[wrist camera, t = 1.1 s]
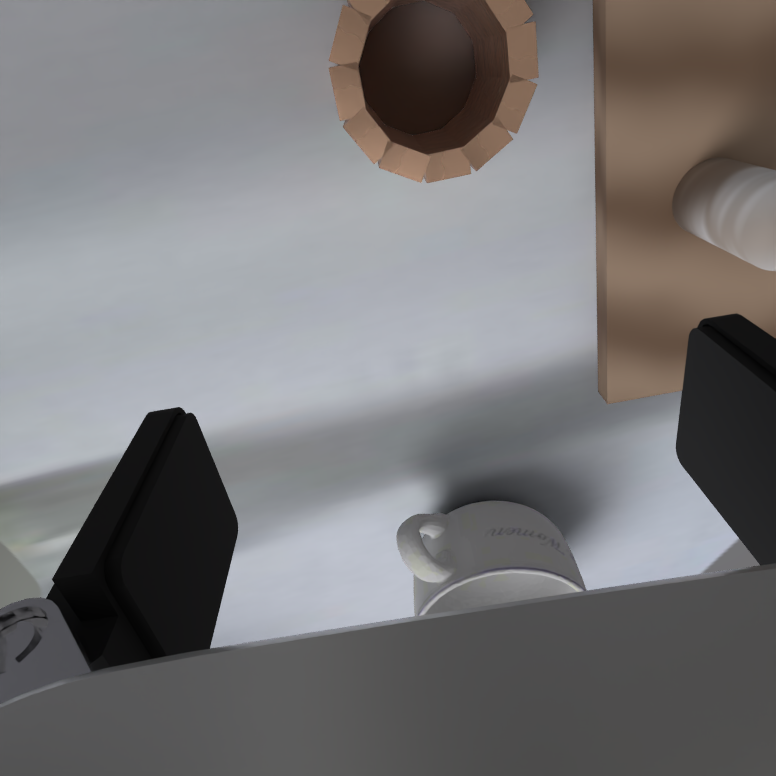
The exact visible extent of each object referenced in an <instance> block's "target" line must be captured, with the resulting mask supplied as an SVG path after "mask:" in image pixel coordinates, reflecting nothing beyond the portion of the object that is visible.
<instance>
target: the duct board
mask: <svg viewBox="0 0 776 776" xmlns="http://www.w3.org/2000/svg"><path fill="white" fill-rule="evenodd" d="M593 43H594V116H595V189H596V262H597V335H598V392H599V393H600V395H601V396H602V397H603V399H604V400H605V401H606V403H607V404H611V403H616V402H622V401H627V400H633V399H638V398H643V397H649V396H654V395H660V394H665V393H671V392H676V391H682V389H683V380H684V372H685V363H686V355H687V346H688V338H689V333H690V332H691V330H692V329H693V328H697V327H698V325H699V323H700V321H701V320H703V319H705V318H711V317H717V316H723V315H729V314H736V313H737V314H740V315H742V316H743V317H745V318H746V319H748V320H749V321H751V322H752V323H754V324H755V325H757V326H758V327H759V328H761V329H762V330H764V331H765V332H767V333H768V334H770V335H771V336H773V337H774V338H776V0H593Z"/></svg>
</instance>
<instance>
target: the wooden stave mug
mask: <svg viewBox="0 0 776 776" xmlns="http://www.w3.org/2000/svg"><path fill="white" fill-rule="evenodd" d="M419 1H426V2H429V3H431V4H433V5H436V6H438V7H440V8H443V9H445V10H447V11H450V12H452V13H454V15H455V16H456V18H457V19H458V21H459V22H460V24H461V25H462V27H463V28H464V29H465V31H466V32H467V34H468V35H469V37H470V38H471V40H472V43H473V52H474V62H475V72H476V77H475V80H474V83H473V85H472V88H471V91H470V93H469V96H468V99H467V102H466V104H465V107H464V108H463V109H462V110H461V111H460V112H459V113H458V114H457V115H456V116H455V117H454V118H453V119H451V120H450V121H449V122H448V123H447V124H446V125H445V126H444V127H443V128H442V129H439V130H434V131H430V132H425V133H420V134H416V135H411V134H408V133H405V132H403V131H400V130H397V129H395V128H392V127H389V126H387V125H385V124H384V123H383V122H382V120H381V119H380V118H379V117H378V115H377V114H376V113H375V112H374V110H373V109H372V108H371V107H370V105H369V104H368V103H367V102H366V100H365V95H364V90H363V85H362V80H361V75H360V69H359V65H360V61H361V57H362V54H363V50H364V47H365V43H366V39H367V36H368V32H369V31H370V30H371V29H372V28H373V27H374V26H375V25H376V24H377V23H378V22H379V21H380V20H381V19H382V18H383V17H384V16H385V15H386V14H387V13H388V12H389V11H390V10H391V8H393V7H398V6H402V5H406V4H411V3H415V2H419ZM347 2H348V6H349V7H347V6H345V5H343V7H342V11H341V14H340V18H339V22H338V26H337V30H336V34H335V38H334V42H333V46H332V50H331V54H330V58H329V61H331V62H333V63H336V64H339V65H340V66H335V67H331V68H329V72H330V77H331V81H332V86H333V91H334V95H335V100H336V104H337V109H338V114H339V118H340V121H342V120H345V122H344V125H343V128H344V129H345V130H346V131H347V132H348V134H349V135H350V136H351V137H352V138H353V140H354V141H355V142H356V143H357V144H358V146H359V147H360V148H361V149H362V150H363V152H364V153H365V154H366V155H367V156H368V158H369V159H370V160H371V161H372V162H373V164H375V163H376V162H377V161H378V164H379V168H381V169H384V170H387V171H389V172H392V173H395V174H398V175H401V176H403V177H406V178H409V179H412V180H415V181H417V182H420V183H421V182H422V179H423V177H424V179H425V181H426V182H427V183H430V182H435V181H440V180H445V179H449V178H454V177H459V176H464V175H468V174H471V169H470V166H471V167H472V168H473V169H475V170H476V171H477V170H478V169H480V168H481V167H482V166H483V165H484V164H485V163H486V162H488V161H489V160H490V159H491V158H492V157H493V156H494V155H496V154H497V153H498V152H499V151H500V150H501V149H502V148H504V147H505V146H506V145H507V144H508V143H509V142H510V141H512V140H513V138H512V137H511V135H510V134H509V133H508V131H507V130H509V131H511V132H514V133H516V134H517V132H518V130H519V128H520V125H521V123H522V120H523V118H524V115H525V113H526V111H527V108H528V106H529V103H530V101H531V99H532V96H533V94H534V91H535V89H536V86H537V84H535V83H533V82H530V81H528V80H529V79H533V78H538V77H539V76H538V58H537V40H536V22H530V23H526V24H524V23H525V22H526V21H527V20H528V19H529V18H530V17H531V16H532V15H533V13H532V11H531V10H530V8H529V6H528V5H527V3H526V2H525V0H347Z"/></svg>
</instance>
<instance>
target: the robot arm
mask: <svg viewBox="0 0 776 776" xmlns="http://www.w3.org/2000/svg"><path fill="white" fill-rule="evenodd" d="M676 452H677V456H678V459H679V461H680V463H681V465H682V466H683V467H684V469H685V470H686V471H687V473H688V474H689V475H690V476H691V478H692V479H693V480H694V481H695V483H696V484H697V485H698V487H699V488H700V489H701V490H702V492H703V493H704V494H705V495H706V497H707V498H708V499H709V500H710V502H711V503H712V504H713V506H714V507H715V508H716V509H717V511H718V512H719V513H720V514H721V516H722V517H723V518H724V520H725V521H726V522H727V523H728V525H729V526H730V527H731V528H732V530H733V531H734V532H735V534H736V535H737V536H738V537H739V539H740V540H741V541H742V542H743V544H744V545H745V546H746V547H747V549H748V550H749V551H750V553H751V554H752V555H753V556H754V558H755V559H756V560H757V562H758V563H759V564H760V566H753V567H746V568H740V569H733V570H726V571H719V572H712V573H705V574H698V575H691V576H684V577H677V578H670V579H663V580H656V581H649V582H642V583H636V584H629V585H622V586H615V587H608V588H601V589H594V590H588V591H581V592H574V593H568V594H561V595H554V596H547V597H541V598H534V599H527V600H521V601H514V602H507V603H501V604H494V605H487V606H481V607H474V608H467V609H461V610H454V611H448V612H441V613H434V614H428V615H421V616H414V617H408V618H401V619H395V620H389V621H382V622H376V623H369V624H363V625H356V626H350V627H344V628H337V629H331V630H324V631H318V632H312V633H305V634H299V635H292V636H286V637H279V638H273V639H267V640H260V641H254V642H248V643H242V644H235V645H229V646H223V647H217V648H211V649H210V645H211V641H212V637H213V633H214V629H215V625H216V621H217V617H218V613H219V609H220V604H221V600H222V596H223V592H224V588H225V584H226V580H227V576H228V572H229V568H230V564H231V560H232V555H233V551H234V547H235V543H236V539H237V535H238V522H237V517H236V514H235V512H234V509H233V507H232V505H231V502H230V500H229V497H228V495H227V492H226V490H225V487H224V485H223V483H222V480H221V478H220V475H219V473H218V470H217V468H216V465H215V463H214V460H213V458H212V456H211V453H210V451H209V448H208V446H207V443H206V441H205V438H204V436H203V434H202V431H201V429H200V426H199V424H198V421H197V419H196V417H195V416H194V414H192V413H187V414H186V413H185V411H184V410H183V409H182V408H180V407H177V408H171V409H165V410H159V411H154V412H149V413H148V414H147V415H146V417H145V419H144V420H143V422H142V424H141V425H140V427H139V429H138V431H137V432H136V434H135V436H134V438H133V439H132V441H131V443H130V445H129V446H128V448H127V450H126V452H125V453H124V455H123V457H122V458H121V460H120V462H119V464H118V465H117V467H116V469H115V471H114V472H113V474H112V476H111V478H110V479H109V481H108V483H107V485H106V486H105V488H104V490H103V491H102V493H101V495H100V497H99V498H98V500H97V502H96V504H95V505H94V507H93V509H92V511H91V512H90V514H89V516H88V518H87V519H86V521H85V523H84V524H83V526H82V528H81V530H80V531H79V533H78V535H77V537H76V538H75V540H74V542H73V544H72V545H71V547H70V549H69V551H68V552H67V554H66V556H65V558H64V559H63V561H62V563H61V564H60V566H59V568H58V570H57V571H56V573H55V575H54V577H53V578H52V580H53V582H54V583H55V584H54V585H53V587H52V589H51V591H50V592H49V594H48V596H47V598H46V599H45V598H41V597H40V598H29V599H24V600H21V601H18V602H14V603H11V604H9V605H7V606H5V607H3V608H1V609H0V776H776V338H774V337H773V336H771V335H770V334H768V333H767V332H765V331H764V330H762V329H761V328H759V327H758V326H757V325H755V324H754V323H752V322H751V321H749V320H748V319H746V318H745V317H743V316H742V315H740V314H737V313H736V314H729V315H723V316H717V317H711V318H705V319H703V320H701V321H700V323H699V325H698V327H697V328H693V329H692V330H691V332H690V333H689V338H688V346H687V355H686V363H685V372H684V380H683V389H682V398H681V406H680V415H679V423H678V432H677V440H676Z"/></svg>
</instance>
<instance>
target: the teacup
mask: <svg viewBox="0 0 776 776" xmlns="http://www.w3.org/2000/svg"><path fill="white" fill-rule="evenodd" d="M420 533H424V534H425V535H424V537H423V538H421V536H420ZM397 545H398V550H399V552H400V554H401V557H402V559H403V561H404V563H405V564H406V566H407V567H408V569H409V570H410V571H411V572H412V573H413V574H414V611H415V616H421V615H428V614H434V613H441V612H448V611H454V610H461V609H467V608H474V607H481V606H487V605H494V604H501V603H507V602H514V601H521V600H527V599H534V598H541V597H547V596H554V595H561V594H568V593H574V592H581V591H587V590H586V588H585V585H584V582H583V579H582V577H581V574H580V572H579V569H578V567H577V564H576V562H575V559H574V557H573V555H572V553H571V550H570V548H569V546H568V544H567V542H566V540H565V539H564V537H563V535H562V534H561V532H560V531H559V529H558V528H557V527H556V526H555V525H554V524H553V523H552V522H551V521H550V520H549V519H548V518H547V517H545V516H544V515H543V514H541V513H540V512H538V511H536V510H534V509H532V508H530V507H528V506H525V505H522V504H518V503H514V502H508V501H483V502H477V503H472V504H469V505H465V506H463V507H460V508H458V509H455V510H453V511H451V512H450V513H448V514H446V515H445V514H443V513H435V514H433V515H431V514H417V515H414V516H411V517H410V518H408V519H407V520H406V521H405V522H403V523H402V524H401V526H400V527H399V529H398V531H397Z"/></svg>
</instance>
